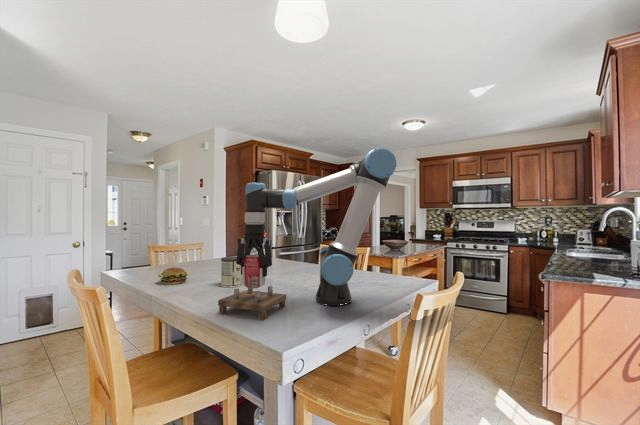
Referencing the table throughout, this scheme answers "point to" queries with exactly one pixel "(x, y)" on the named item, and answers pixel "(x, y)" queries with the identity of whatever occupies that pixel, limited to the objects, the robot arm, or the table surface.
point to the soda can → (252, 271)
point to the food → (173, 276)
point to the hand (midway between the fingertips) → (253, 284)
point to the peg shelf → (252, 301)
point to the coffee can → (230, 272)
